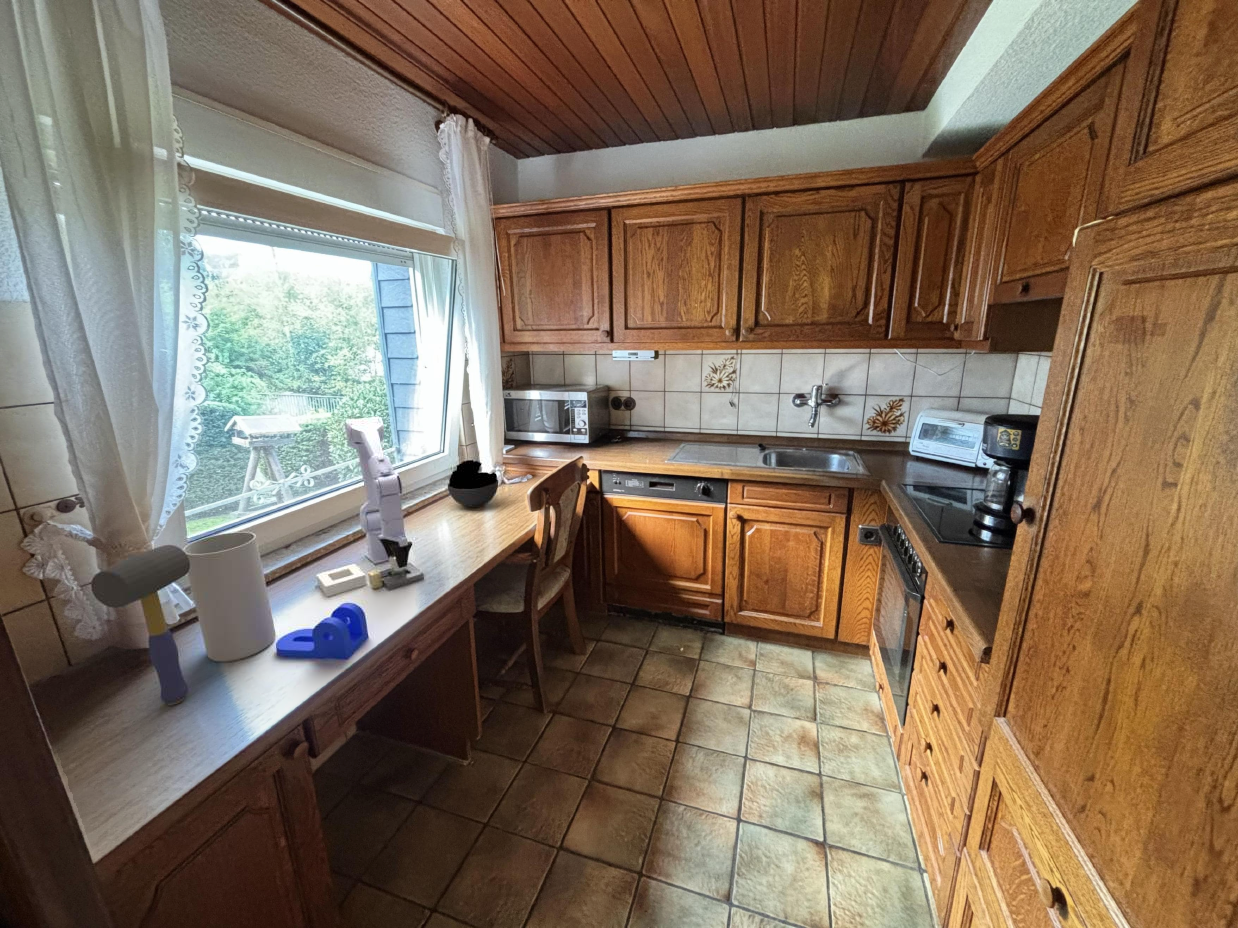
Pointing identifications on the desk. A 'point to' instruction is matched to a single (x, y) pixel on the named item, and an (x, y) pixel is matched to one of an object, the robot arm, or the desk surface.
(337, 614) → the bracket
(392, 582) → the socket block
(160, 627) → the rubber mallet
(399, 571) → the metal cylinder
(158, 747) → the desk surface
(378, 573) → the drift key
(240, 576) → the cylinder vase
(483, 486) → the bowl of black rocks
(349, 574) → the white square block
